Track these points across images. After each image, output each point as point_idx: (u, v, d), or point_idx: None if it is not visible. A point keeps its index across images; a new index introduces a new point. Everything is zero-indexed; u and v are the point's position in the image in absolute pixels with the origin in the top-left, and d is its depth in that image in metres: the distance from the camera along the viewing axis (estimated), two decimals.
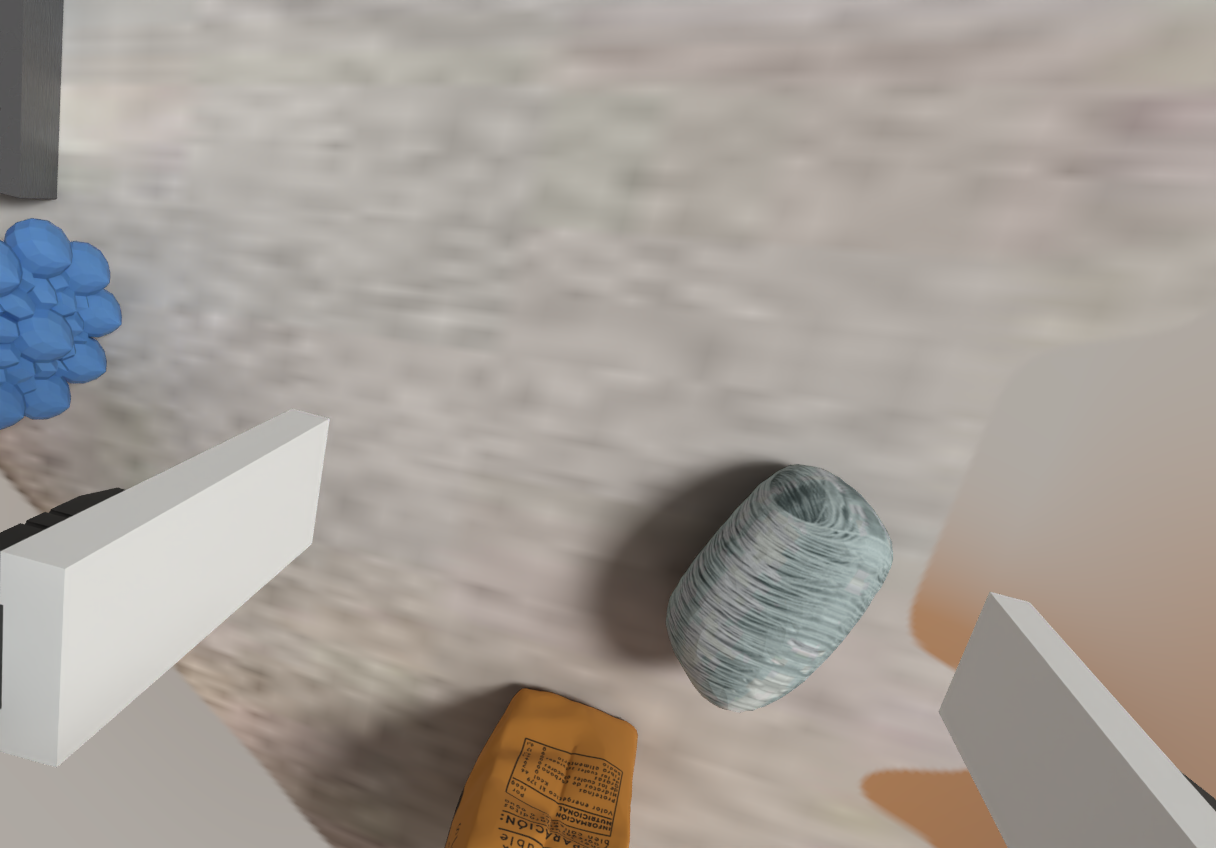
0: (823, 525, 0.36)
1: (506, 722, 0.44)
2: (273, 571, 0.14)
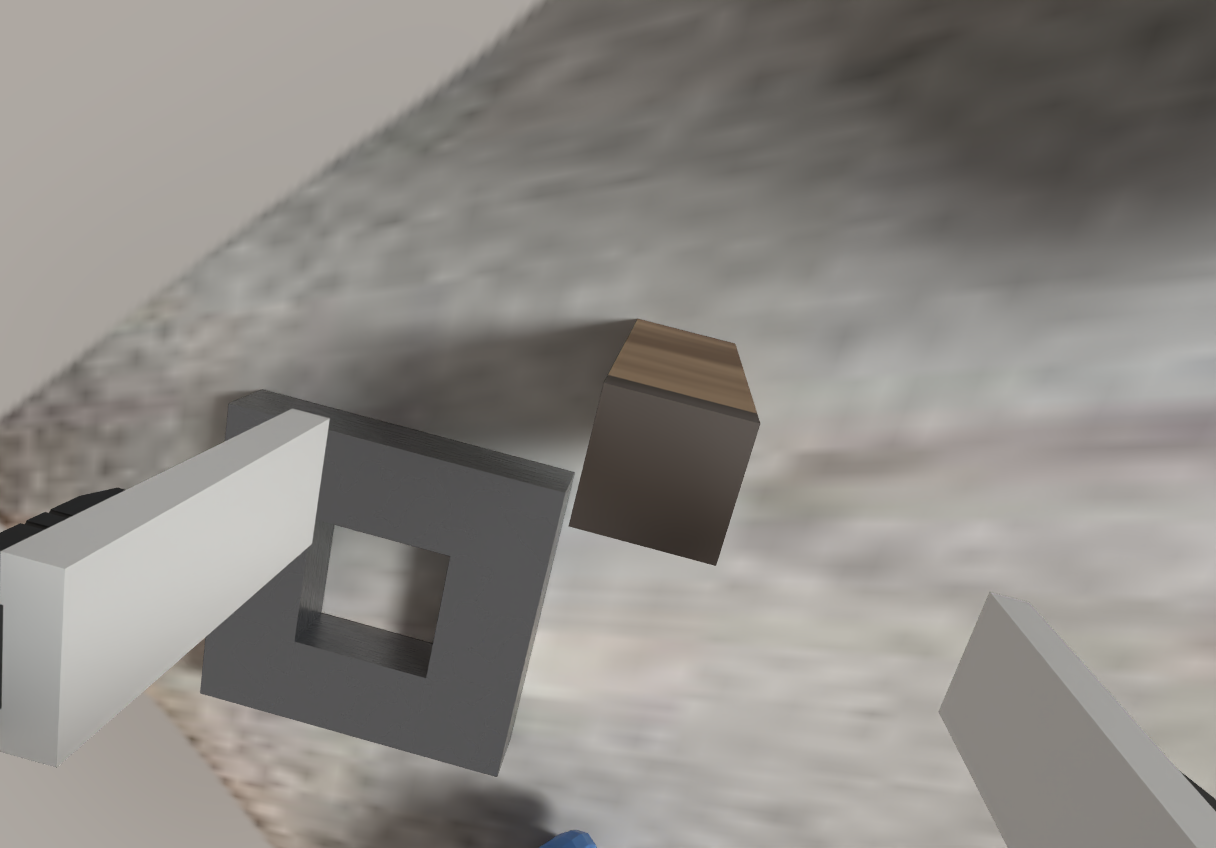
0: None
1: None
2: (273, 571, 0.14)
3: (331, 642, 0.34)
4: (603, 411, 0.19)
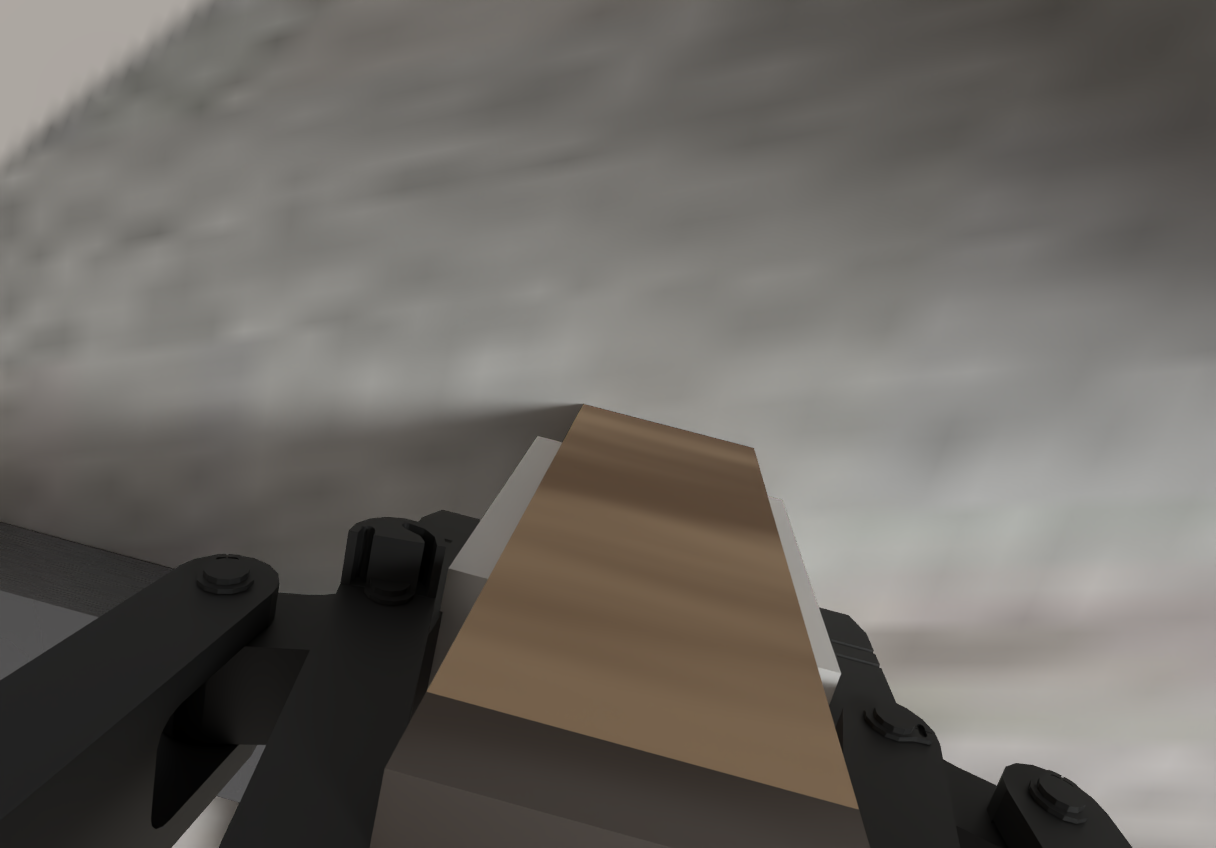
0: None
1: None
2: None
3: None
4: (390, 846, 0.06)
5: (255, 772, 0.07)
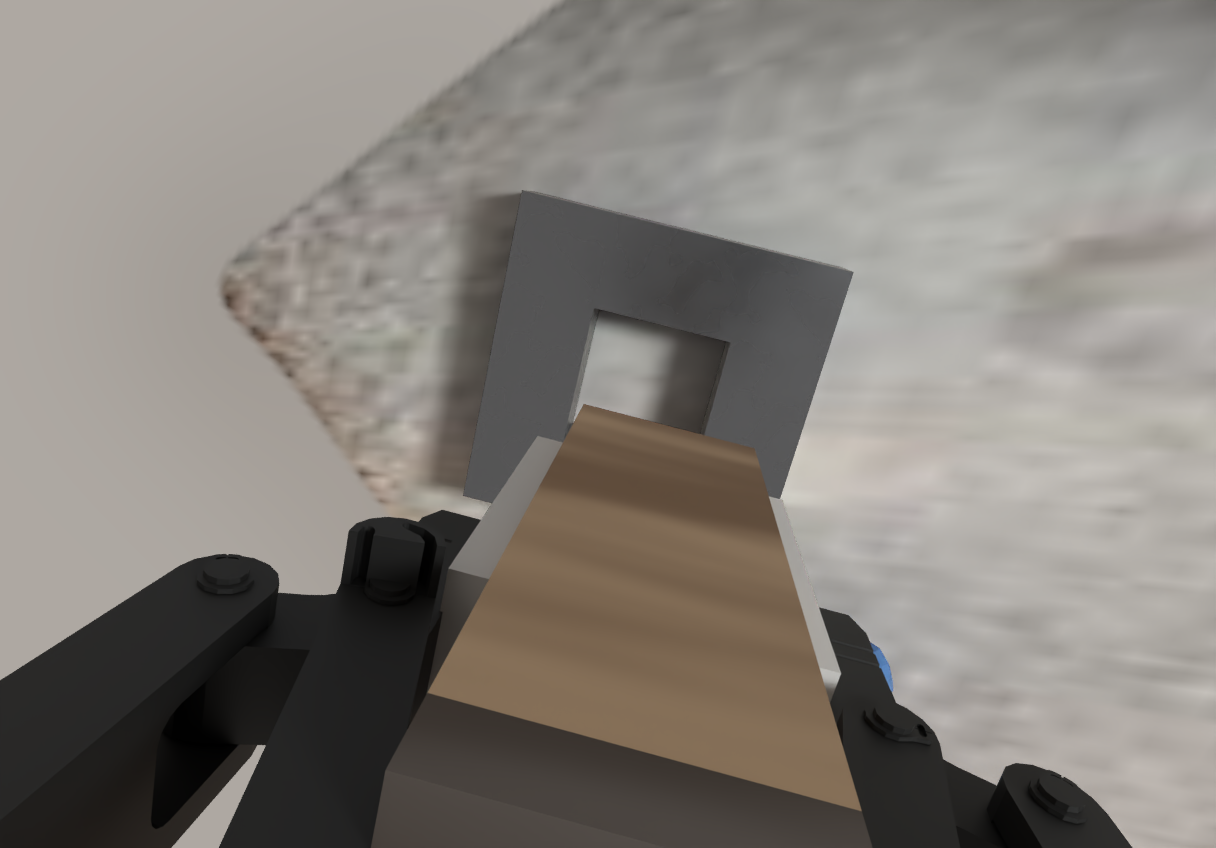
0: None
1: None
2: None
3: None
4: None
5: (254, 770, 0.07)
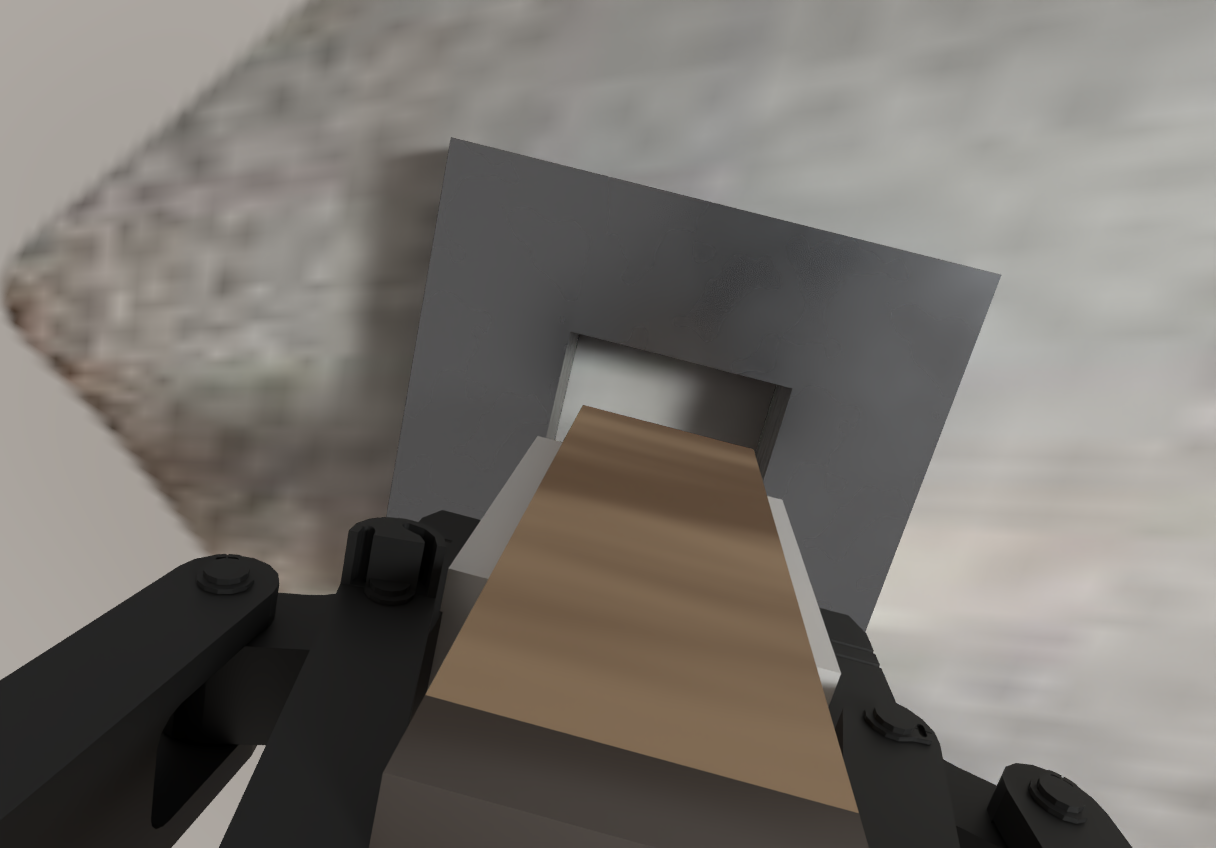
0: None
1: None
2: None
3: None
4: None
5: (255, 770, 0.07)
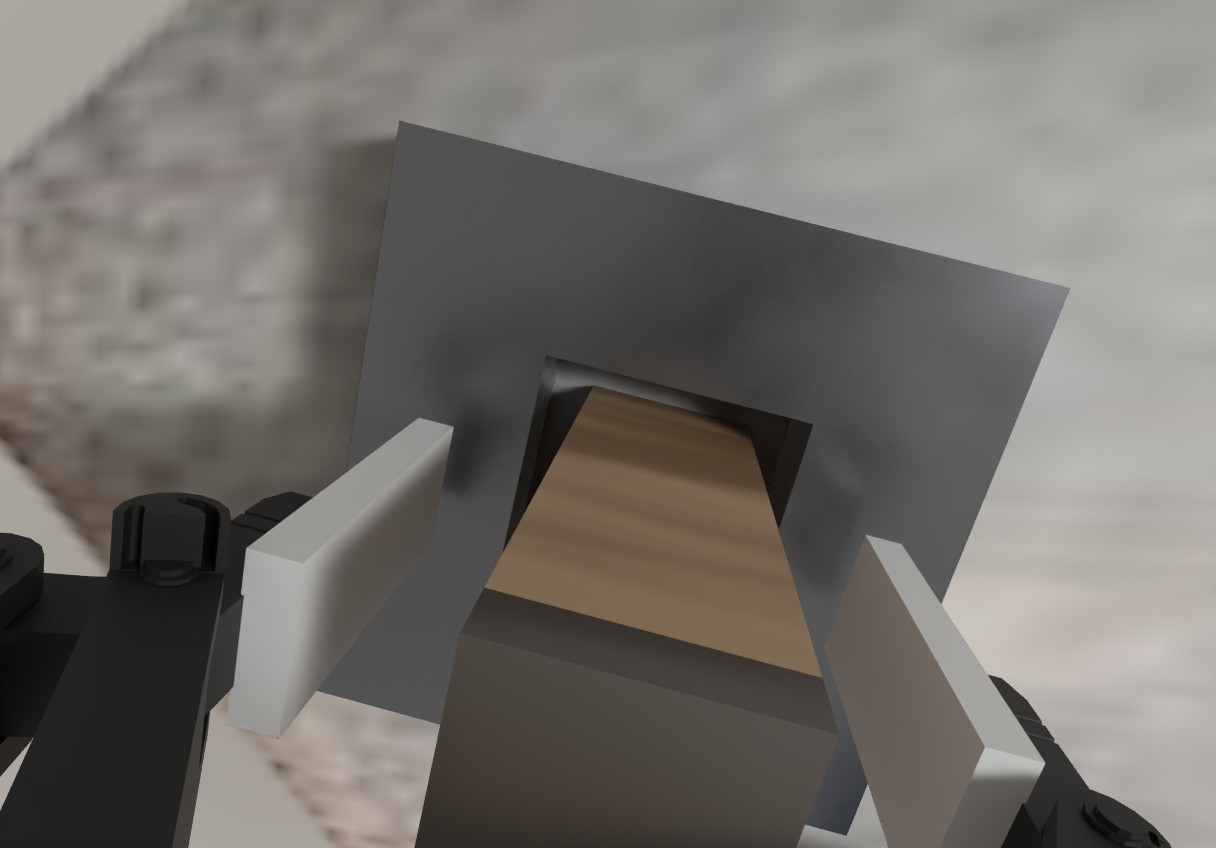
0: None
1: None
2: (408, 567, 0.15)
3: None
4: (462, 695, 0.08)
5: (16, 778, 0.06)
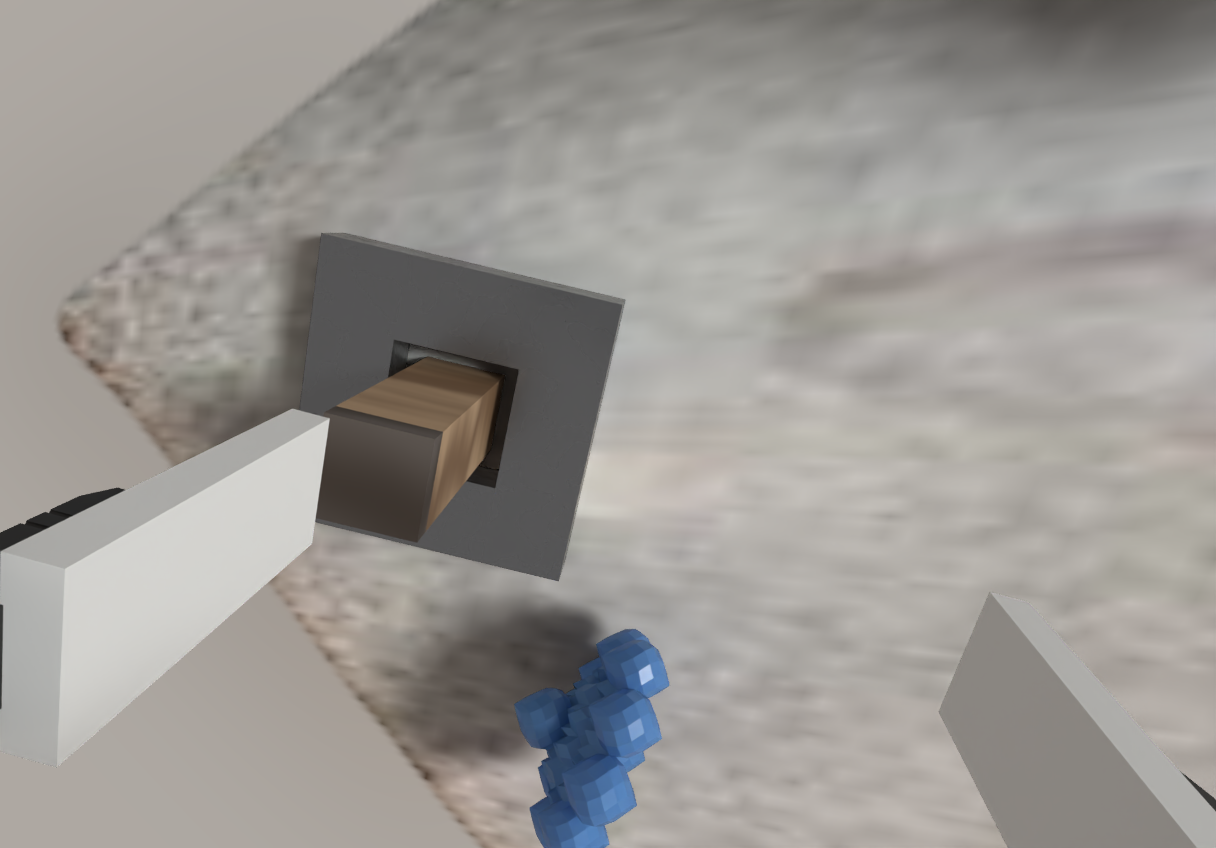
0: None
1: None
2: (273, 571, 0.14)
3: None
4: None
5: None
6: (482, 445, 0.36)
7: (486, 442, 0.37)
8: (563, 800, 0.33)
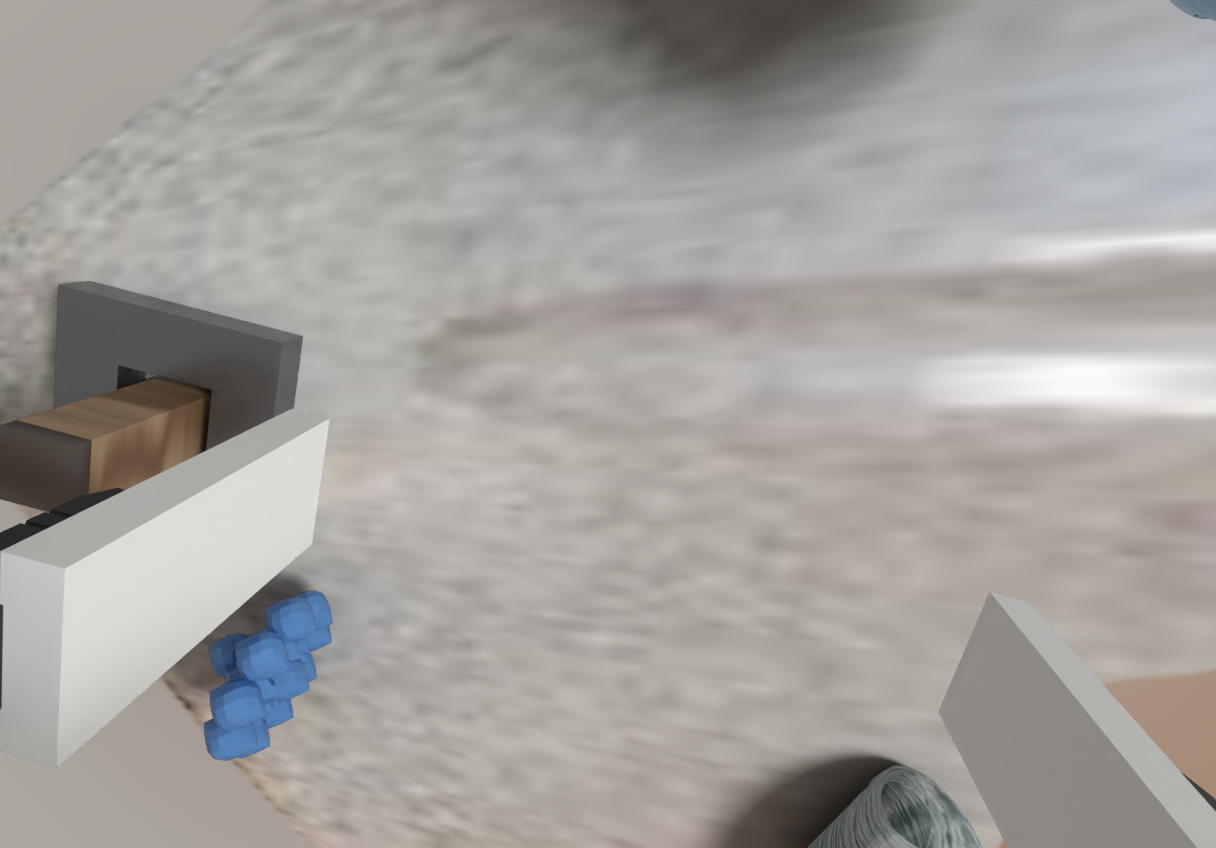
0: None
1: None
2: (273, 571, 0.14)
3: None
4: (2, 439, 0.38)
5: None
6: (189, 446, 0.47)
7: (199, 444, 0.48)
8: None
